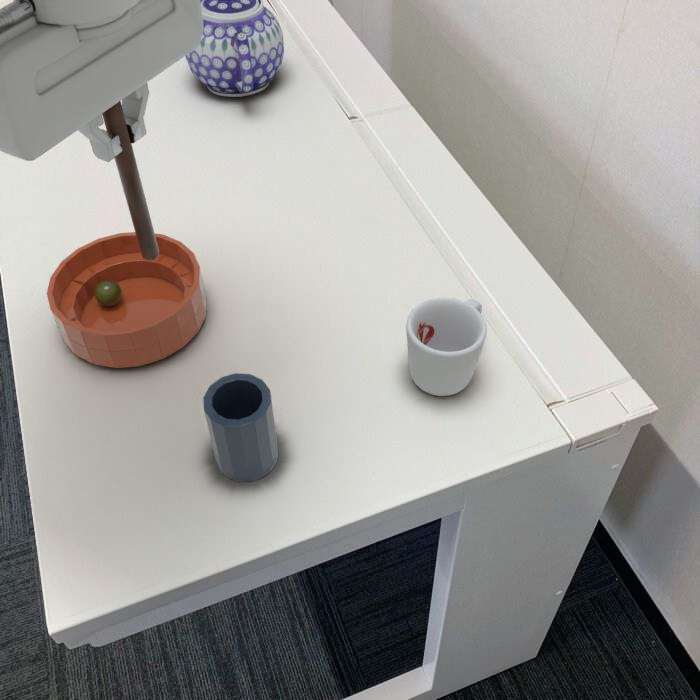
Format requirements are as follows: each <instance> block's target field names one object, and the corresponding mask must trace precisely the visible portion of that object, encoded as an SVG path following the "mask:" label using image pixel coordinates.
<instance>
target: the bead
mask: <svg viewBox="0 0 700 700" xmlns="http://www.w3.org/2000/svg"><path fill="white" fill-rule="evenodd" d="M94 295H95V298H96V300H97V301H98V302H99V303H100V304H101V305H104V306H113V305H115V304H117V303H118V302H119V301H120V299H121V297H122V290H121V288H120V286H119V285H118V284H117V283H116V282H114V281H112V280H104V281H101V282H100V283H98V284H97V286H96V287H95V291H94Z"/></svg>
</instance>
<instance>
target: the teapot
mask: <svg viewBox="0 0 700 700" xmlns="http://www.w3.org/2000/svg"><path fill="white" fill-rule="evenodd" d="M200 3H201V10H202V16H203V34H202V38H201V42H200V44H199V46H198V48H196V49H195V50H193V51H192V52H190V53H189V54H188V55H186V56H185V57H184V58H185V59H186V63H187V65H188V67H189V69H190V71H191V73H192V74H193V76H194V78H196V79H197V80H198V81H199V82H200V83H202V84H203V85H204V86H206V87H207V89H208V90H209V91H210V92H211V93H212V94H214V95H216V96H221V97H230V98H231V97H233V98H236V97H237V98H238V97H247V96H252V95H255V94H257V93H260V92H262V91H264V90H265V89H266V88H267V87H268V86H269V85H270V82H271V81H272V80H273V79H274V78H275V76H276V75H277V74H278V73H279V71H280V69H281V66H282V63H283V59H284V54H285V41H284V34H283V33H284V32H283V29H282V27H281V25H280V22H279V21H278V19H277V17H276V16H275V15H274V13H273V12H272V11H271V10H270V9H269V8H268V7H266V6H265V5H264V1H263V0H200Z"/></svg>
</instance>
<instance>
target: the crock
mask: <svg viewBox="0 0 700 700" xmlns="http://www.w3.org/2000/svg"><path fill="white" fill-rule="evenodd" d="M202 399H203V402H202V403H203V404H202V405H203V412H204V417H205V421H206V424H207V429H208V434H209V438H210V442H211V446H212V450H213V453H214V458H215V462H216V463H217V467H218V469H219V470H220V472H221V473H222V474H223V475H224V476H225V477H226V478H228V479H230V480H232V481H235V482H239V483H250V482H254V481H258V480H260V479H262V478H264V477H266V476H267V475H269V474H270V473H271V472H272V470H274V468H275V466H276V465H277V463H278V459H279V447H278V440H277V430H276V422H275V417H274V409H273V401H272V394H271V389H270V388H269V386H268V385H267V383H266V382H265V381H264V380H263V379H262V378H260V377H258V376H255V375H253V374H252V373H251V374H250V373H237V372H235V373H231V374H228V375H225V376H221V377H220V378H218V379H217V380H216V381H214V382H213V383H211V384H210V385H209V387H208V389H207V391H206V392H205V394H204V395H203V398H202Z"/></svg>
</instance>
